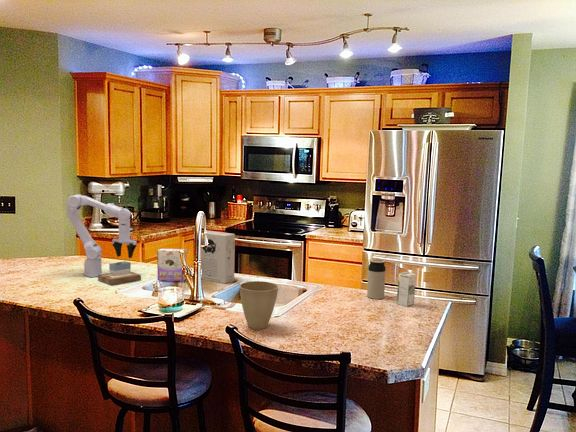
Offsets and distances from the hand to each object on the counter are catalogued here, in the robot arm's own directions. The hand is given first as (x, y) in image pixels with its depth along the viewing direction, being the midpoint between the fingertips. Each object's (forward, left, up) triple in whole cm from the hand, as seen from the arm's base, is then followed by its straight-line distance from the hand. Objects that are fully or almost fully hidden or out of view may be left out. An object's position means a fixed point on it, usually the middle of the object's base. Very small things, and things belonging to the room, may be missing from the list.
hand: (124, 257), depth 272 cm
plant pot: (+108, -5, -10) cm, 109 cm away
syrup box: (+132, +65, -10) cm, 147 cm away
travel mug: (+116, +65, -10) cm, 133 cm away
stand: (+9, -8, -10) cm, 16 cm away
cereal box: (+38, +30, -10) cm, 49 cm away
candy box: (+26, +12, -10) cm, 30 cm away
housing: (+9, -8, -7) cm, 14 cm away
